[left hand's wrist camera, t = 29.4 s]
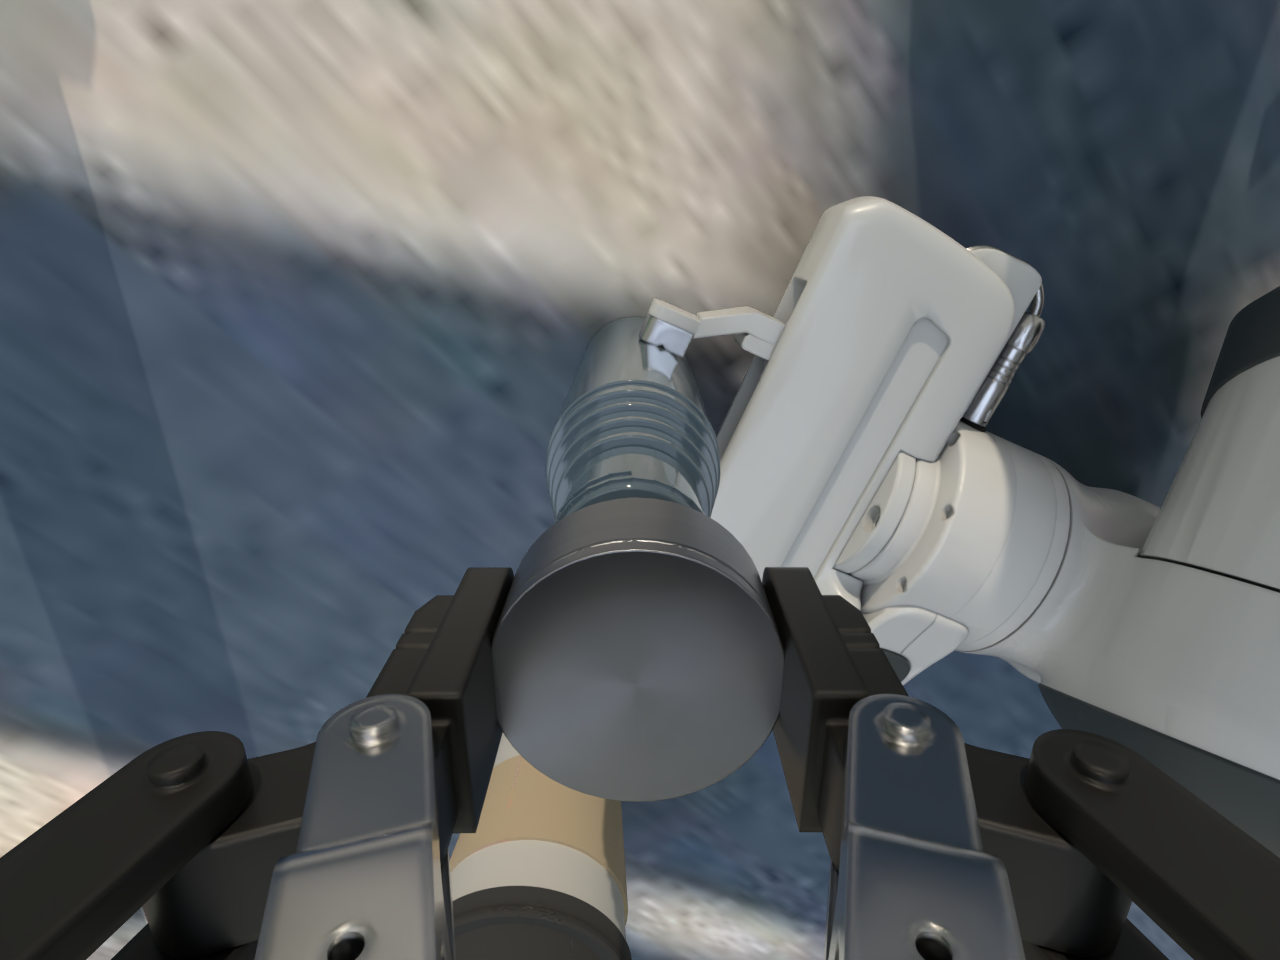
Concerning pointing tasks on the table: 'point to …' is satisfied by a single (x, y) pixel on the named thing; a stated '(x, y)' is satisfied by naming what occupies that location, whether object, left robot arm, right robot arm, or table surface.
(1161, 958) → the left robot arm
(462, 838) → the coffee cup
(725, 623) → the cap
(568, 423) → the bottle
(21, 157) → the table surface
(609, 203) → the table surface
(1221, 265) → the table surface
